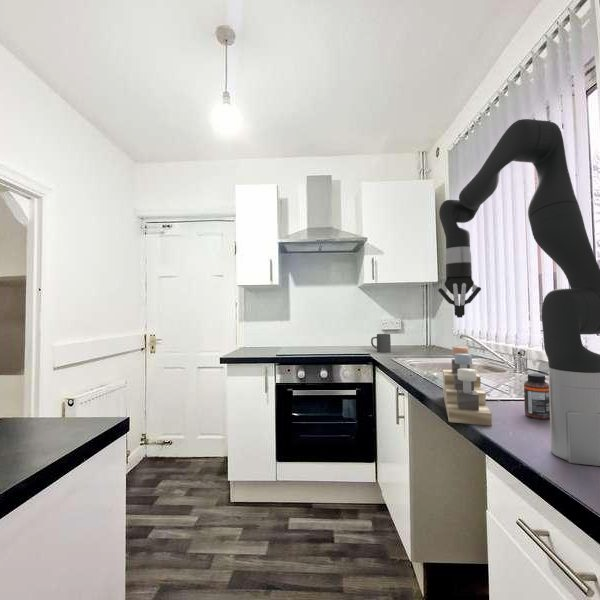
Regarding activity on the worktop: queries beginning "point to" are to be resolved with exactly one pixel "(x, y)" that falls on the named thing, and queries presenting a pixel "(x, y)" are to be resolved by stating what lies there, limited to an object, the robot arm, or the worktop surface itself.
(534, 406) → the supplement bottle
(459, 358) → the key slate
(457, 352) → the pink block
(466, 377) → the white mushroom-shaped block
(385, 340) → the mug
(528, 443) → the worktop surface
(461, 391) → the wooden block staircase
